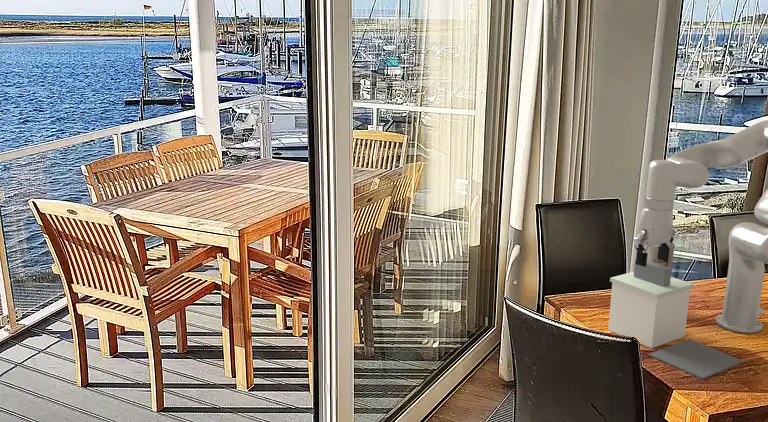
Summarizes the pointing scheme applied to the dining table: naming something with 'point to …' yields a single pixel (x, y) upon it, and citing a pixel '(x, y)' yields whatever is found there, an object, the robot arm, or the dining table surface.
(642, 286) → the lid
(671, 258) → the thermos bottle
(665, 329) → the storage box
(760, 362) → the dining table surface
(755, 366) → the dining table surface
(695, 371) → the mat
